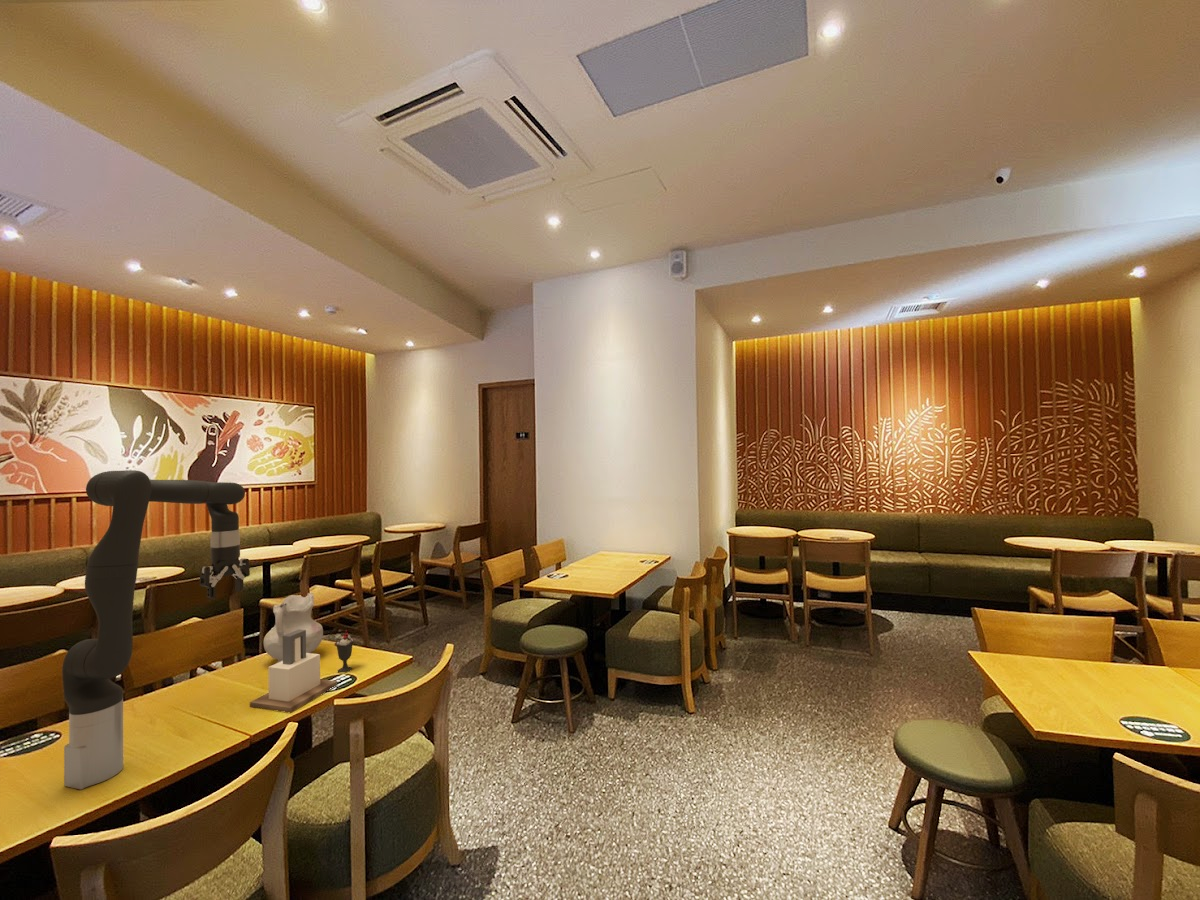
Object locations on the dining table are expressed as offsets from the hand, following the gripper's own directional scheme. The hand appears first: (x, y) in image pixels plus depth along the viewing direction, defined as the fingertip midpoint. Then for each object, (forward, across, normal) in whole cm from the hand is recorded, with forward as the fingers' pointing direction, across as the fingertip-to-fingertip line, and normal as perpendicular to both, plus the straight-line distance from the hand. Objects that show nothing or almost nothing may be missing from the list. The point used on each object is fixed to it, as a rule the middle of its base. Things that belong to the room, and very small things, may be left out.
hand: (225, 594), depth 155 cm
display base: (+34, +8, -19) cm, 40 cm away
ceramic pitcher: (+34, +30, +6) cm, 46 cm away
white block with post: (+33, +8, -19) cm, 39 cm away
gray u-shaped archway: (+23, +8, -19) cm, 31 cm away
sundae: (+34, +28, -20) cm, 49 cm away
